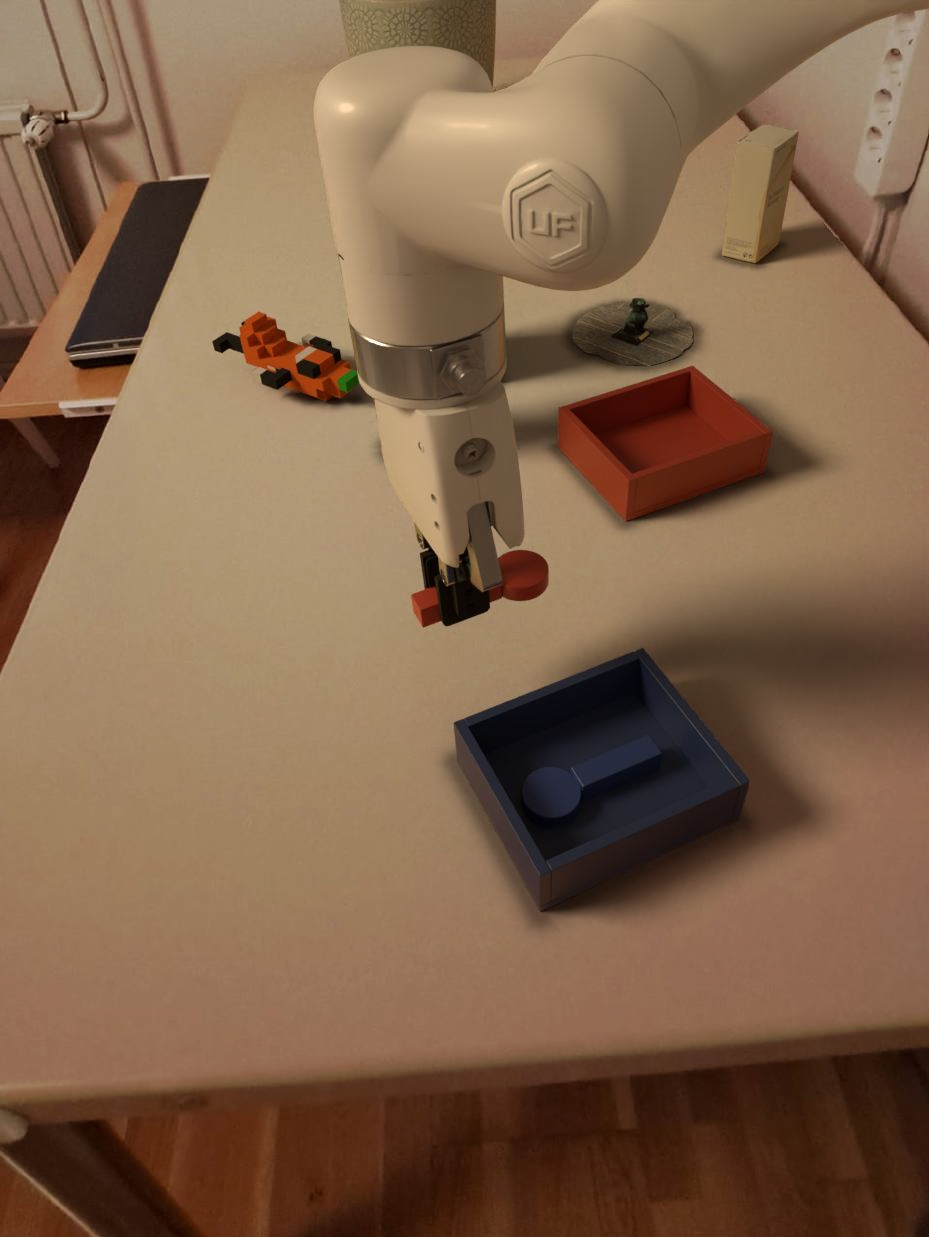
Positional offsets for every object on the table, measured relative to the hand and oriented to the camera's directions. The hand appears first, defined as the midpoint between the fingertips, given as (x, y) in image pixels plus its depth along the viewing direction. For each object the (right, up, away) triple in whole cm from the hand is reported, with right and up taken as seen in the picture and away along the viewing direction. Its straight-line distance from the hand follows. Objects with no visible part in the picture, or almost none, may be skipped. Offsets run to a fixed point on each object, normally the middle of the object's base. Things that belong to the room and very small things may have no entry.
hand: (457, 603), depth 59 cm
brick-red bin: (+17, +13, +21) cm, 30 cm away
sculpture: (+17, +28, +36) cm, 48 cm away
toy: (-16, +22, +33) cm, 42 cm away
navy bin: (+8, -12, -1) cm, 14 cm away
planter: (-5, +70, +77) cm, 104 cm away
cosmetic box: (+33, +41, +47) cm, 70 cm away
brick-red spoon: (+2, 0, +1) cm, 2 cm away
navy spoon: (+8, -11, -2) cm, 14 cm away
